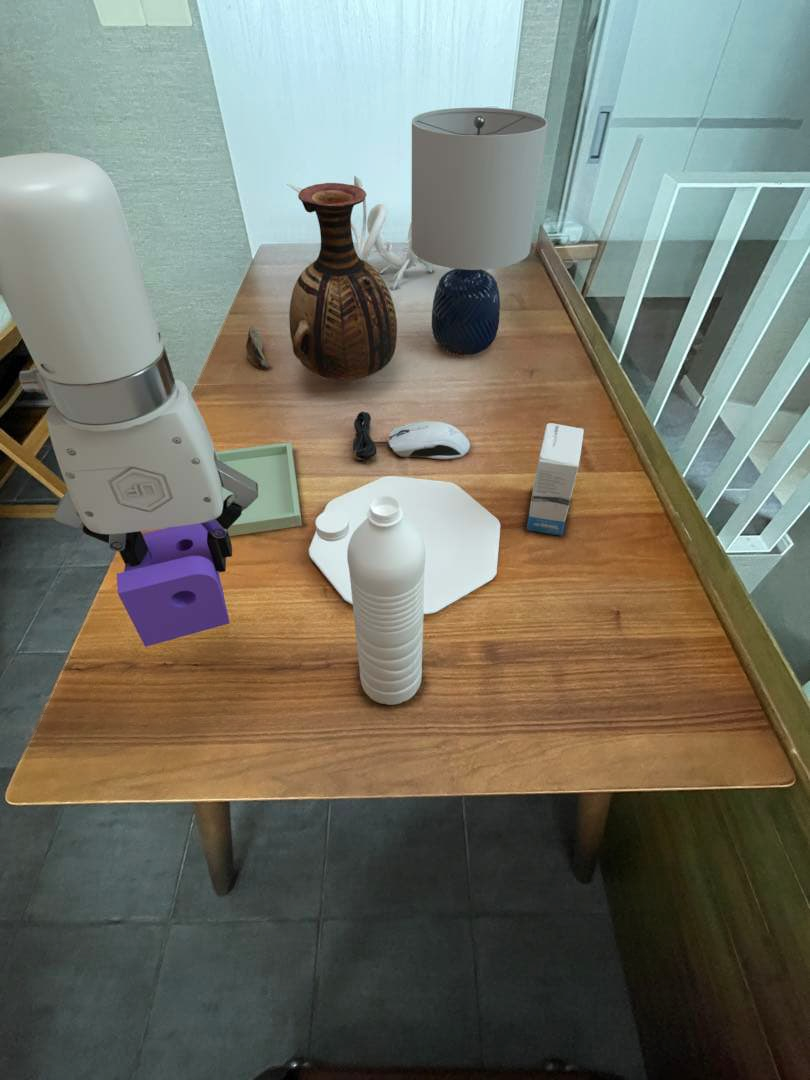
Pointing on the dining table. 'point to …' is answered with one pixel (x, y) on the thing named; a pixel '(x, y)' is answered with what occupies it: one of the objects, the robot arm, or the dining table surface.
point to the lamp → (473, 211)
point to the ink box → (555, 478)
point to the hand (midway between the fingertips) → (184, 564)
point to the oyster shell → (255, 349)
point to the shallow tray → (266, 487)
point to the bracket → (173, 586)
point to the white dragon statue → (374, 227)
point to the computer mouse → (412, 440)
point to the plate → (446, 529)
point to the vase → (340, 296)
